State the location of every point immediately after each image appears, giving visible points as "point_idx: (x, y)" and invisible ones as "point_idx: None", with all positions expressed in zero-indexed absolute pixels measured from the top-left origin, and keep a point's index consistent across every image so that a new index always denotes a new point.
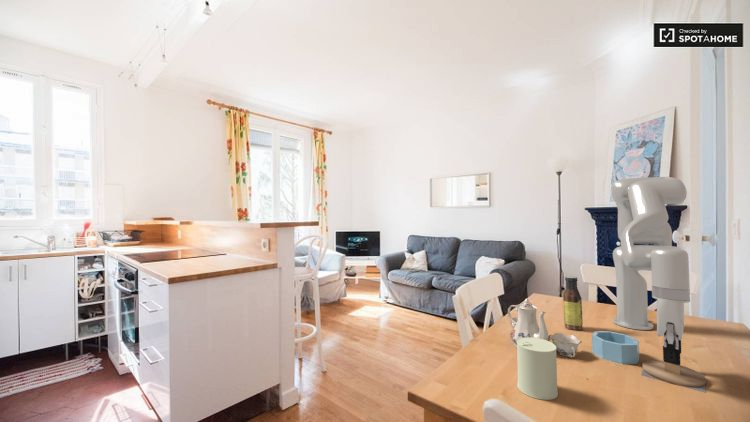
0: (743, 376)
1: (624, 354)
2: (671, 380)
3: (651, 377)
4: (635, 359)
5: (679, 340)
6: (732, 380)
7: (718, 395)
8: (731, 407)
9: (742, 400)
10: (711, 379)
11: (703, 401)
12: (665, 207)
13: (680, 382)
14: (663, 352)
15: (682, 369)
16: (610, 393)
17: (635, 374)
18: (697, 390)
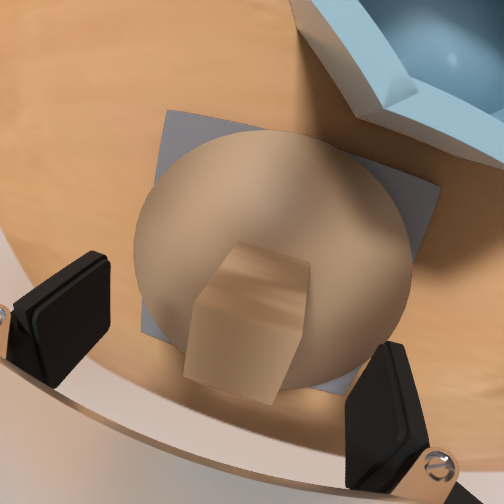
0: None
1: (305, 18)
2: (136, 239)
3: (161, 156)
4: (353, 102)
5: (346, 484)
6: None
7: (172, 362)
8: (106, 353)
9: (180, 404)
10: (326, 399)
11: None
12: None
13: (138, 272)
14: (49, 279)
15: (319, 337)
16: (3, 37)
17: (197, 85)
18: (142, 312)
